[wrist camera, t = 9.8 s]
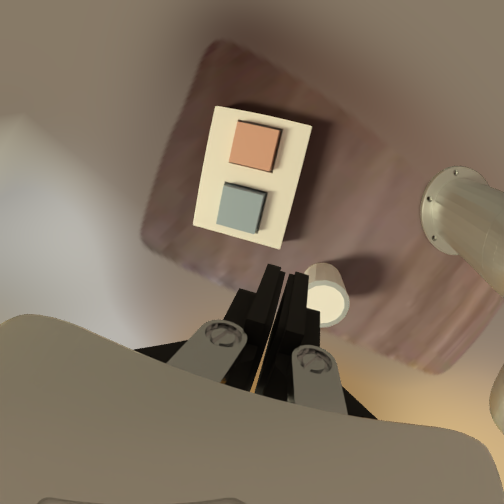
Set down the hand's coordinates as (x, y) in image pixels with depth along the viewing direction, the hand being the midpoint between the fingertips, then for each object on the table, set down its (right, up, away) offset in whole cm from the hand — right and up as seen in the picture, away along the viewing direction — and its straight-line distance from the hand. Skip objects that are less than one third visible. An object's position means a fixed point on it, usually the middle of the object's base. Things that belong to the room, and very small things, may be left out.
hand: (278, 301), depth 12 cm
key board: (-1, +12, +27) cm, 30 cm away
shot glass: (+9, -2, +31) cm, 32 cm away
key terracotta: (0, +15, +24) cm, 28 cm away
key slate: (-2, +8, +27) cm, 28 cm away
